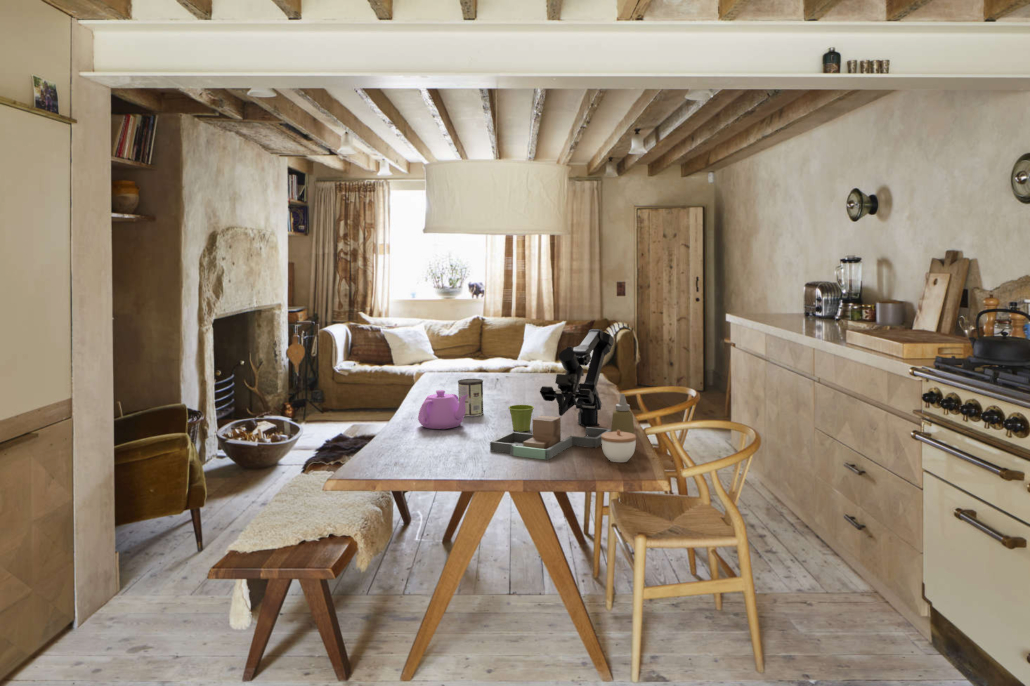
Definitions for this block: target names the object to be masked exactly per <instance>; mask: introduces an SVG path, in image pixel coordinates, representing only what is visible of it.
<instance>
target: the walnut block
mask: <svg viewBox="0 0 1030 686" xmlns="http://www.w3.org/2000/svg"><path fill="white" fill-rule="evenodd" d="M561 417H562V416H551V415H539V416H537V417H535V418H533V419H532V434H533V437H532V438H530V439H528V440H526V441H524V442H523V447H531V448H540V449H548V448H550V447H551V446H553V445H555V444H557V443H559V442H560V441H562V440H561V433H562V432H561V431H562V429H561V428H562V427H561V422H562V421H561V419H562V418H561Z"/></svg>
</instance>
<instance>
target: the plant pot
mask: <svg viewBox="0 0 1030 686" xmlns="http://www.w3.org/2000/svg"><path fill="white" fill-rule="evenodd" d="M534 409H535V406H533V405H529V404H514V405H510V406H508V410H509V413H510V417H511V424H512V430H513V431H514V432H517V431H519V433H523V432H522V431H524V432H525V431H526V432H529V431H530V429H531V421H532V414H533V412H534Z"/></svg>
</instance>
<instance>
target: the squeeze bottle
mask: <svg viewBox="0 0 1030 686" xmlns="http://www.w3.org/2000/svg"><path fill="white" fill-rule="evenodd" d="M625 394H626V393H620V397H619V400H618V401H619V402H618V403H616V404H615V410H614V411H613V412H612V418H611V428H610V429H611V432H617V430H620V432H628V433H632V434H635V426H634V425H635V423H634V416H633V415H634V414H633V412H632V410H631V409H630V408H631V405H630V404H628V403H627V399H626V396H625Z"/></svg>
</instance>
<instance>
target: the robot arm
mask: <svg viewBox="0 0 1030 686" xmlns="http://www.w3.org/2000/svg"><path fill="white" fill-rule="evenodd" d="M614 344H615V343H614V336H612V334H611V333H608V332H604V331H603V330H602V329H601V328H600V329H596V328H595V329H594V328H592V329H589V330H588V331H587V334H586V336H585V338H584V339H583V340H582V341H581V343H580V344H579V345H578V346H574V347H573V346H566V348H565V349H562V350H561V351H560V352H559V353H558V359H559V361H560V364H561V365H562V367H563V369H564V370H565V374H563V373H562V374H561V373H556V376H555V384H556V385H557V388H558V389H555V390H554V387H553V386H547V385H542V386H541V388H540V389H539V394H540V395H541V397H542V399H543V400H544V401H546V402H553V401H555V400H556V402H557V403H558V404H557V405H558V416H559V417H562V416H563V415H565V413H567V412H568V411H569V410H570V409H571V408H573V407H574V406H575V409H577V410H579V412H578V413H577V416H578V419H577V424H578V423H579V424H578V425H580V424H581V426H582V425H583V426H582V427H594V426H595V425H597V426H600V423H598V421H599V419H598V416H599V415H598V412H599V410H600V411H601V409H602V401H601V398H600V395H599V391H598V389H597V386H598V382H599V377H600V374H601V372H602V367H603V363H604V360H605V356H607V355H608V354H609V353H610V352H611V350H612V347H613V346H614ZM591 353H592V354H591ZM583 366H584V367H585V366H586V367H587V366H588V370H587V373H586V376H585V379H584V382H583V383H580V382H581V380H582V379H581V378H582V377H584V375H585V373H584V368H583ZM595 427H596V426H595Z"/></svg>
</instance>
